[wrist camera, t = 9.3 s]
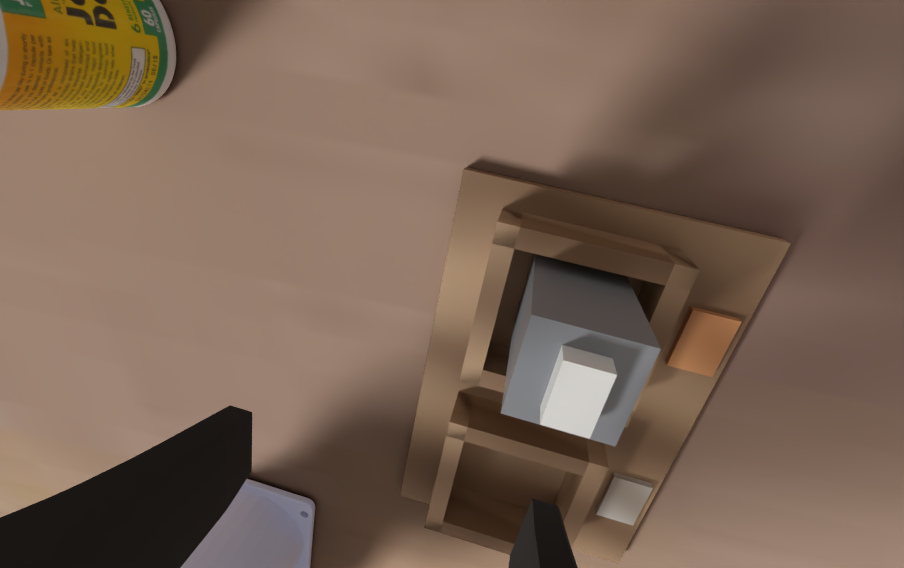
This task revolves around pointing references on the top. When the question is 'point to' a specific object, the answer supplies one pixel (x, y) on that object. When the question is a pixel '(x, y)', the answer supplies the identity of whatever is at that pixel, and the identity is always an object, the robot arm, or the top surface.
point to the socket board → (488, 345)
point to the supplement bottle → (84, 53)
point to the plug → (577, 351)
